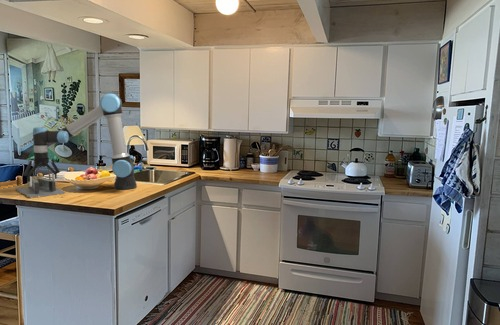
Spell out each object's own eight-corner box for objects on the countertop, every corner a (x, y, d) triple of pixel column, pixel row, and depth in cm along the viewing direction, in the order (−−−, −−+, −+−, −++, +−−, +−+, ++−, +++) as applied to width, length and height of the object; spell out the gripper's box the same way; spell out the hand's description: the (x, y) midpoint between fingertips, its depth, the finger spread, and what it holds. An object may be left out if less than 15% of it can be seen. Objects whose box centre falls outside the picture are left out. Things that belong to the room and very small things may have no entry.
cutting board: (15, 189, 234) (15, 188, 234) (48, 186, 249) (48, 184, 249) (29, 198, 214) (29, 196, 214) (65, 193, 229) (65, 191, 228)
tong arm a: (37, 186, 236) (36, 177, 236) (40, 186, 238) (39, 177, 237) (52, 191, 226) (52, 181, 225) (55, 190, 228) (55, 181, 227)
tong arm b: (32, 187, 235) (31, 178, 234) (35, 187, 236) (35, 178, 235) (35, 193, 219) (35, 183, 219) (39, 192, 221) (38, 183, 220)
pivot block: (27, 187, 238) (27, 175, 237) (39, 186, 243) (38, 174, 242) (30, 188, 234) (29, 177, 233) (42, 187, 239) (41, 175, 238)
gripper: (59, 150, 236) (61, 182, 239) (16, 152, 218) (18, 186, 221) (64, 151, 231) (65, 183, 234) (19, 153, 213) (22, 188, 216)
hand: (42, 185), depth 227 cm, fingers open, 13 cm apart
